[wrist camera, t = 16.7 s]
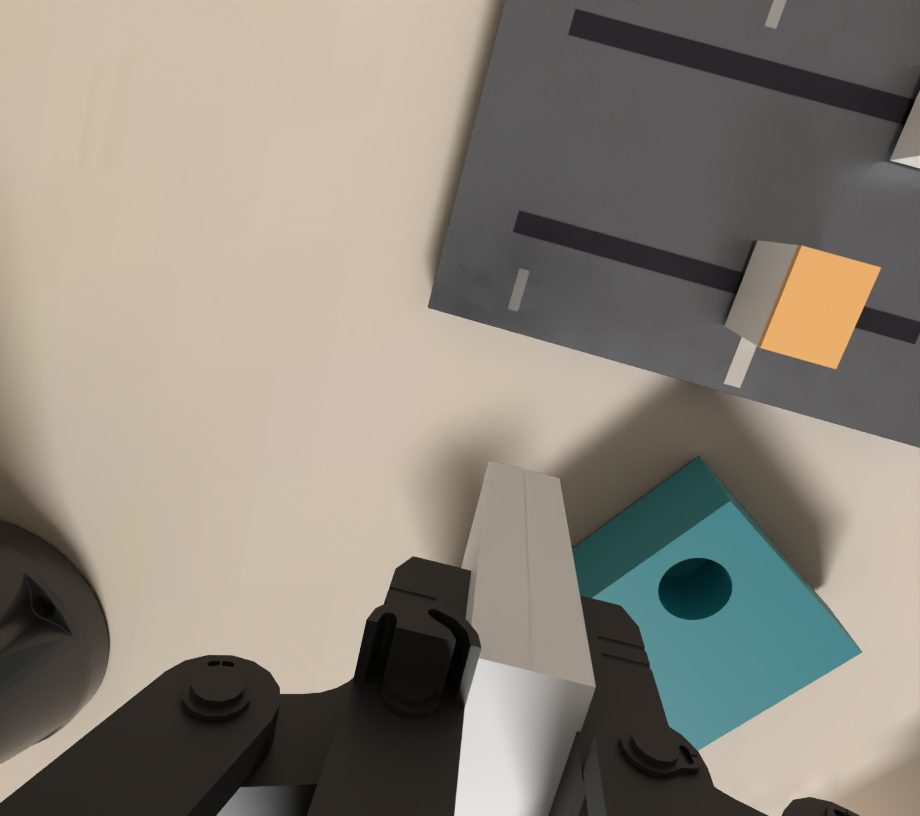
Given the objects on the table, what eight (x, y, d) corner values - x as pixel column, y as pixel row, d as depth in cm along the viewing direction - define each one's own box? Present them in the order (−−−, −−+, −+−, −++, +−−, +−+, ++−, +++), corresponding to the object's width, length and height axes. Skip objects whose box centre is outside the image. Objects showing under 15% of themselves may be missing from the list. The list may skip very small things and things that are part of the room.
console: (433, 302, 35) (427, 307, 33) (534, -96, 30) (534, -118, 28) (912, 438, 34) (934, 452, 32) (1101, 53, 29) (1141, 42, 27)
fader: (724, 326, 32) (760, 347, 27) (757, 240, 31) (801, 245, 25) (787, 343, 32) (836, 369, 26) (823, 258, 30) (881, 267, 25)
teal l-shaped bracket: (563, 752, 43) (583, 928, 33) (445, 641, 40) (428, 796, 30) (816, 590, 38) (928, 740, 28) (699, 456, 36) (776, 567, 26)
